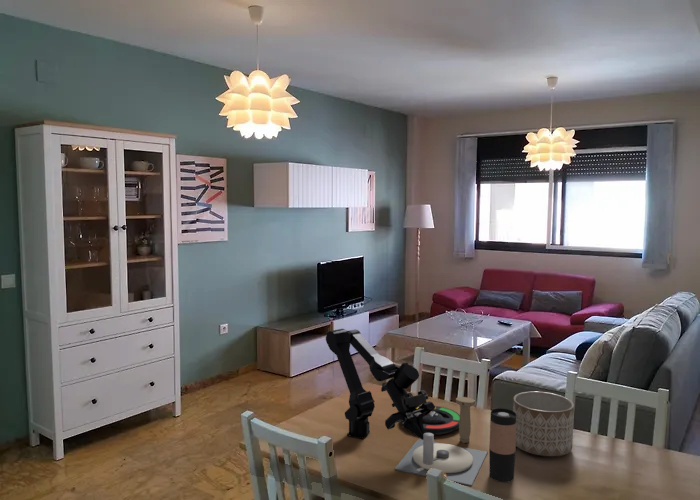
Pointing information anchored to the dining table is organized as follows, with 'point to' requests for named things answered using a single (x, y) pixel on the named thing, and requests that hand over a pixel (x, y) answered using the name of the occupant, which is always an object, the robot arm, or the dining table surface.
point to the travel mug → (502, 444)
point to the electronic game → (440, 421)
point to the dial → (441, 456)
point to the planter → (544, 423)
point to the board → (459, 477)
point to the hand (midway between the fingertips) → (424, 438)
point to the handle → (465, 418)
